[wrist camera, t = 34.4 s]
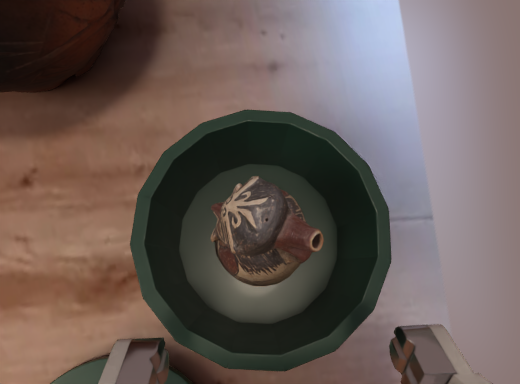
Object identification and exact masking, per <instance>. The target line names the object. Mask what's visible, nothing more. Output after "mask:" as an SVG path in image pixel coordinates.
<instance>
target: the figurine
mask: <svg viewBox="0 0 520 384" xmlns="http://www.w3.org/2000/svg"><path fill="white" fill-rule="evenodd" d="M211 210H212V211H213V213H214V214H215V216H216V217H217V224H216V227H215V229H214V230H213V232H212V234H211V237H210V238H211V241H212V242H214V241H215V250H216V255H217V257H218V259H219V261H220V262H221V264H222V265H223V267H224V268H225V269H226V270H227V271H228V273H229V274H231V275H232V276H233V277H235V278H236V279H237V280H239V281H241V282H243V283H246V284H249V285H252V286H269V285H274V284H278V283H280V282H282V281H283V280H285V279H286V278H288V277H290V276H291V275H292V273H293V272H294V271H295V270H296V269H297V268H298V267H299V266H300V264H301V263H304V262H305V261H306V260H307V259H308V258H309V257H310V255H311V253H312V252H316V251H319V250H320V249H321V247H322V245H323V241H324V239H323V235H322V233H321V231H320V230H319V229H316V228H314V227H311V226H309V225H308V224H307V223H306V220H305V217H304V215H303V212H302V210H301V208H300V206H299V205H298V203H297V202H296V200H295V199H294V198H293V197H292V196H291V195H290V194H288V193H287V192H286V191H283V190H281V189H279V188H278V187H277V186H276V185H275V184H273V183H271V182H267V181H265V180H263V179H261V178H260V177H259V176H253V177H252V178H251V179H249V180H248V181H247V182H246V183H245V184H244V185H243V186H242V184H240V183H239V184H237V185H236V186H235V188H234V191H233V193H232V195H231V196H230V197H229V198H228V199H227V200H226V201H224V202H221V203H215V204H214V205H212V206H211Z"/></svg>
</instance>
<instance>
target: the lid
mask: <svg viewBox="0 0 520 384" xmlns="http://www.w3.org/2000/svg"><path fill="white" fill-rule="evenodd" d="M108 358H109V356H106V357H101V358H98V359H95V360H91V361H88V362H86V363H84V364H82V365H79V366H77V367H75V368H73V369H72V370H70V371H68V372H67V373H65V374H63V375H62V376H60V377H58V378H57V379H56V380H54V381H53V382H52V383H50V384H98V383H99V380H100V378H101V375H102V373H103V370H104V368H105V365H106V363H107V360H108ZM164 384H193V383H192V382H191V381H190V380H189V379H188V378H187V377H185V376H184V375H183V374H182V373H181V372H179V371H178V370H176V369H174V368H173V367H171V366H170V365H169V371H168V376H167V380H166V381H165V383H164Z"/></svg>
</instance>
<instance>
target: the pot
mask: <svg viewBox="0 0 520 384" xmlns="http://www.w3.org/2000/svg"><path fill="white" fill-rule="evenodd" d="M253 176H259V177H260V178H261V179H263V180H265V181H267V182H271V183H273V184H275V185H276V186H277V187H278V188H279V189H281V190H283V191H286V192H287V193H288V194H290V195H291V196H292V197H293V198H294V199H295V200H296V202H297V203H298V205H299V206H300V208H301V210H302V212H303V215H304V217H305V220H306V223H307V224H308V225H309V226H311V227H314V228H316V229H319V230H320V231H321V233H322V235H323V239H324V241H323V245H322V247H321V249H320V250H319V251H316V252H312V253H311V255H310V257H309V258H308V259H307V260H306V261H305V262H304V263H301V264H300V266H299V267H298V268H297V269H296V270H295V271H294V272H293V273H292V275H291V276H290V277H288V278H286V279H285V280H283V281H282V282H280V283H278V284H274V285H269V286H252V285H249V284H246V283H243V282H241V281H239V280H237V279H236V278H235V277H233V276H232V275H231V274H229V273H228V271H227V270H226V269H225V268H224V267H223V265H222V264H221V262H220V261H219V259H218V257H217V255H216V250H215V241H214V242H212V241H211V238H210V237H211V234H212V232H213V230H214V229H215V227H216V224H217V217H216V216H215V214H214V213H213V211H212V210H211V206H212V205H214V204H215V203H221V202H224V201H226V200H227V199H228V198H229V197H230V196H231V195H232V193H233V191H234V188H235V186H236V185H237V184H239V183H240V184H242V186H243V185H244V184H245V183H246V182H247V181H248V180H249V179H251V178H252V177H253ZM130 247H131V252H132V256H133V260H134V264H135V268H136V272H137V276H138V280H139V284H140V288H141V292H142V296H143V299H144V300H145V302H146V303H147V304H148V306H149V307H150V308H151V309H152V311H153V312H154V313H155V315H156V316H157V317H158V319H159V320H160V321H161V322H162V324H163V325H164V326H165V328H166V329H167V330H168V332H169V333H170V334H171V336H172V337H173V338H174V339H175V341H176V342H178V343H179V344H181V345H183V346H185V347H187V348H189V349H191V350H193V351H194V352H196V353H198V354H200V355H202V356H204V357H206V358H208V359H209V360H211V361H213V362H215V363H217V364H219V365H221V366H223V367H225V368H228V369H243V370H263V371H287V370H290V369H292V368H295V367H297V366H300V365H302V364H304V363H307V362H309V361H312V360H314V359H317V358H319V357H322V356H324V355H327V354H329V353H332V352H334V351H336V349H338V348H339V347H340V346H341V345H342V343H343V342H344V341H345V340H346V339H347V338H348V337H349V336H350V335H351V334H352V333H353V332H354V331H355V330H356V329H357V328H358V327H359V325H360V324H361V323H362V322H363V321H364V320H365V319H366V318H367V317H368V316H369V315H370V314H371V313H372V312H373V310H374V308H375V306H376V303H377V300H378V297H379V294H380V292H381V289H382V286H383V283H384V281H385V278H386V275H387V272H388V269H389V267H390V264H391V242H390V223H389V210H388V206H387V204H386V202H385V200H384V198H383V196H382V193H381V191H380V189H379V187H378V185H377V182H376V180H375V178H374V176H373V174H372V171H371V169H370V167H369V166H368V164H367V163H366V162H365V161H364V160H363V159H362V158H361V157H360V156H359V155H358V154H357V153H356V152H355V151H354V150H353V149H352V148H351V147H350V146H349V145H348V144H347V143H346V142H345V141H344V140H343V139H342V138H341V137H340V136H338V135H337V134H336V133H335V132H334V131H332V130H329V129H327V128H325V127H323V126H320V125H318V124H316V123H314V122H311V121H309V120H307V119H305V118H303V117H300V116H298V115H296V114H294V113H291V112H275V111H260V110H243V111H240V112H237V113H233V114H230V115H227V116H223V117H220V118H217V119H213V120H210V121H207V122H204V123H202V124H200V125H198V126H197V127H196V128H195V129H193V130H192V131H191V132H189V133H188V134H187V135H185V136H184V137H183V138H182V139H180V140H179V141H178V142H176V143H175V144H174V145H172V146H171V147H170V148H169V149H167V150H166V151H165V152H164V153H163V154H162V156H161V157H160V159H159V161H158V162H157V164H156V166H155V167H154V169H153V171H152V172H151V174H150V175H149V177H148V179H147V180H146V182H145V184H144V185H143V187H142V189H141V190H140V192H139V194H138V198H137V204H136V210H135V217H134V223H133V229H132V235H131V242H130Z"/></svg>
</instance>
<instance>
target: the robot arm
mask: <svg viewBox="0 0 520 384" xmlns="http://www.w3.org/2000/svg"><path fill="white" fill-rule="evenodd" d="M394 334H395V336H396V337H395V338H393V339H392V340H391V342H390V345H389V348H390V356H391V360H392V362H393V365H394V367H395V369H396V370H397V371H398V372H400V373H401V374H402V378H401V384H493V383H491V382H490V381H488V380H487V379H486V378H485V377H483V376H482V375H481V374H479V373H474V372H473V371H472V369H471V367H470V366H469V364H468V363H467V361H466V360H465V358H464V357H463V355H462V354H461V352H460V351H459V349H458V347H457V346H456V344H455V343H454V341H453V340H452V338H451V336H450V335H449V333H448V332H447V330H446V329H445V327H443V326H442V325H439V324H433V325H412V326H398V327H396V328H395V331H394ZM164 347H165V341H164V338H145V339H119V340H117V341H116V343H115V344H114V345H113V348H112V350H111V353H110V355H109V358H108V360H107V363H106V365H105V368H104V370H103V373H102V375H101V378H100V380H99V383H98V384H164V383H165V381H166V380H167V376H168V371H169V354H168V351H167V350H166V349H164Z"/></svg>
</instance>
